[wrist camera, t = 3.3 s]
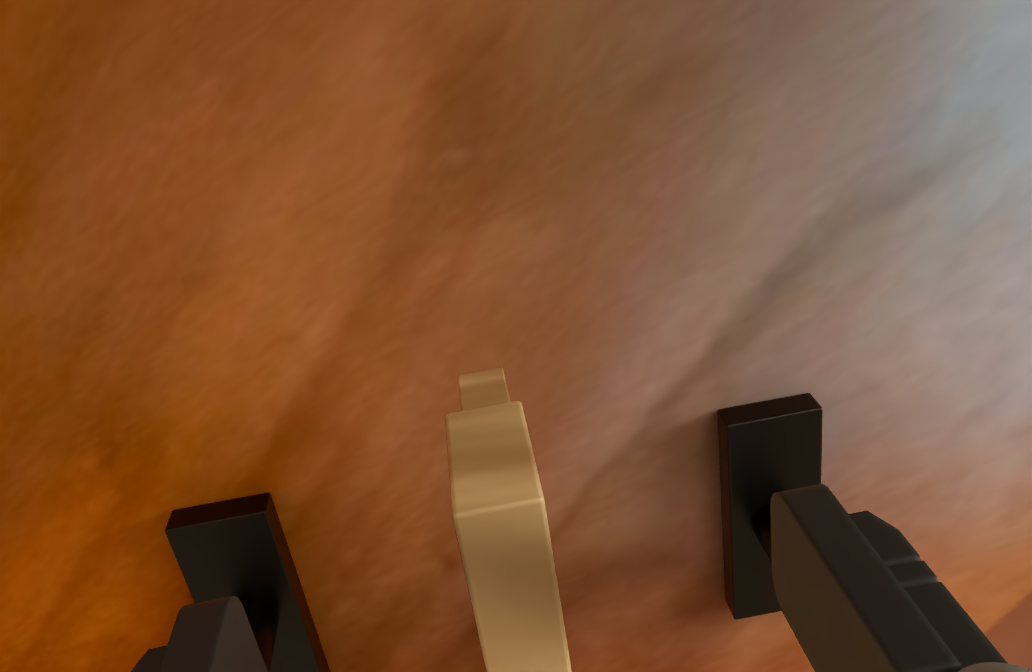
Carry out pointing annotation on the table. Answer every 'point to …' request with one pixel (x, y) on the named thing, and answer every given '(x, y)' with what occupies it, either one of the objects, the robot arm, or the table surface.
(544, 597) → the hanger
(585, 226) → the table surface
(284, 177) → the table surface
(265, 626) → the rail stand
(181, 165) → the table surface
